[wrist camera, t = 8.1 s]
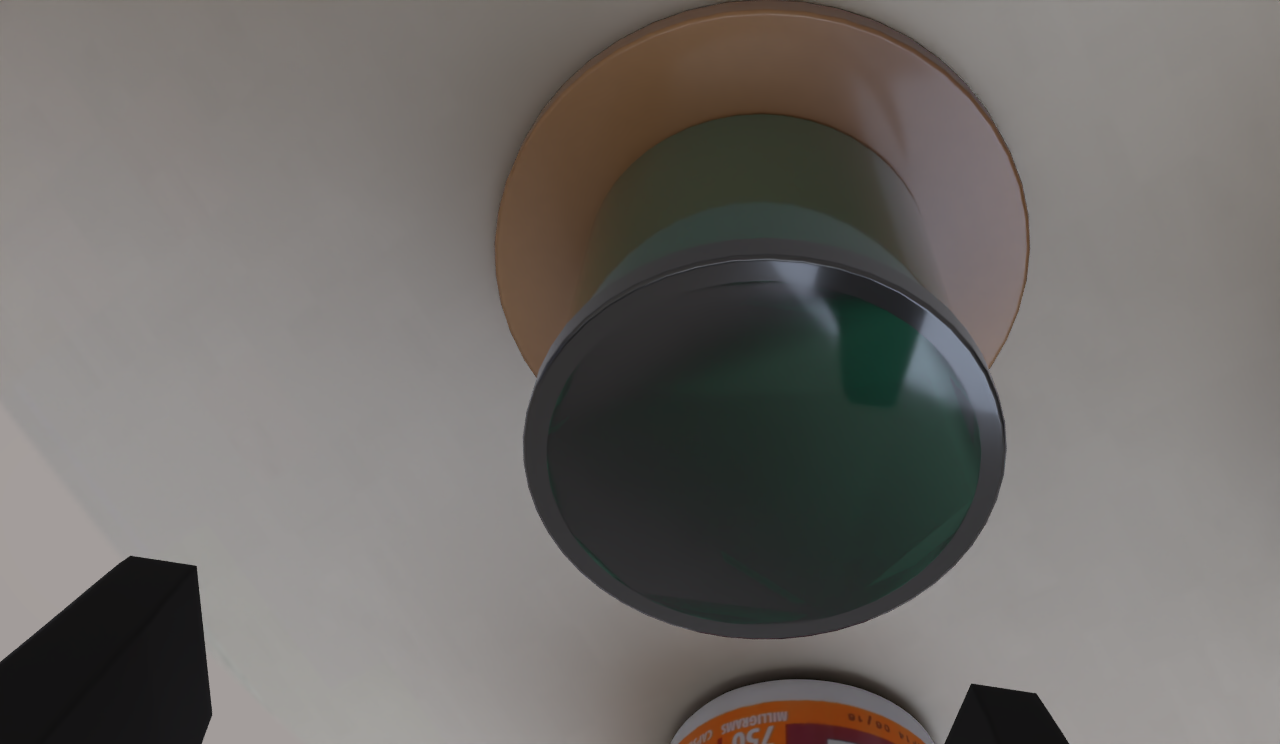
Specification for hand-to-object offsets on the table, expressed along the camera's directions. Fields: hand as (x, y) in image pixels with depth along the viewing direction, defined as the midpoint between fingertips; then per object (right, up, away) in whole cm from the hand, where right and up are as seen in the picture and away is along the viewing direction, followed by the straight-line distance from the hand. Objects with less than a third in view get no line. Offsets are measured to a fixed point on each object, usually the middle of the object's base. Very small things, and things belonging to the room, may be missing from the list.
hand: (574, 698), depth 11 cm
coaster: (+2, +5, +8) cm, 9 cm away
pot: (+2, +5, +7) cm, 9 cm away
